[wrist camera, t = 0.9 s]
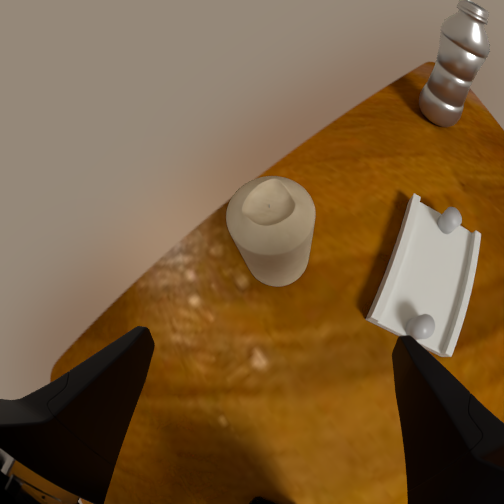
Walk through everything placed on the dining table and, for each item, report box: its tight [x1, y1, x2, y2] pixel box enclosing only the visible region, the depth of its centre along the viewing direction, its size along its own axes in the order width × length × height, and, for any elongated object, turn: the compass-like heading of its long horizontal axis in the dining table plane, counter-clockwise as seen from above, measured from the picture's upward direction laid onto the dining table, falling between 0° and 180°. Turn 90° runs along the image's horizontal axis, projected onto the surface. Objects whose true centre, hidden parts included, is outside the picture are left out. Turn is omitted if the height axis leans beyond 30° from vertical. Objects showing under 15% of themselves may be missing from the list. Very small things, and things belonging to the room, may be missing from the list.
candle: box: [226, 176, 315, 286], centre depth 20 cm, size 6×6×10 cm
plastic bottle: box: [419, 0, 490, 127], centre depth 19 cm, size 6×7×20 cm
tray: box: [365, 194, 481, 357], centre depth 20 cm, size 13×9×3 cm
